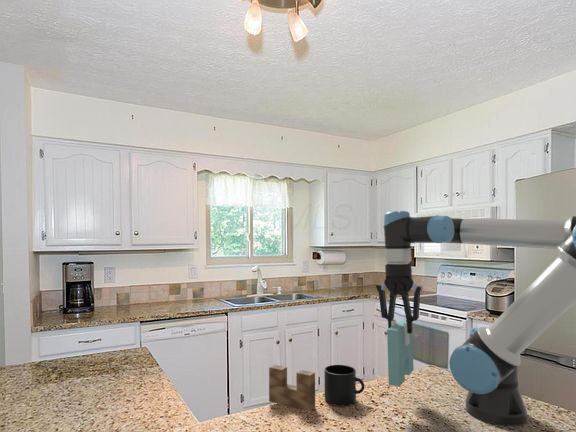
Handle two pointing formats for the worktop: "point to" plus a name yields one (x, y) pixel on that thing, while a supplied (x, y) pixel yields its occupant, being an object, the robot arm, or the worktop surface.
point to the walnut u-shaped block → (292, 388)
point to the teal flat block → (399, 354)
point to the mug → (341, 385)
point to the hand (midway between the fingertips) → (400, 343)
